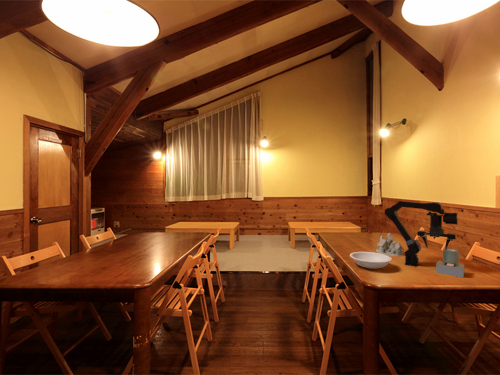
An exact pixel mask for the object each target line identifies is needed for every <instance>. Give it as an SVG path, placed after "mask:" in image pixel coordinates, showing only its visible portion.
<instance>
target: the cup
mask: <svg viewBox="0 0 500 375" xmlns="http://www.w3.org/2000/svg"><path fill="white" fill-rule="evenodd" d="M442 261H444V262H450V263H457V264H460V263H459V262H460V251H459V250H457V249H453V248H447V250H445V248H443V249H442Z"/></svg>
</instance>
